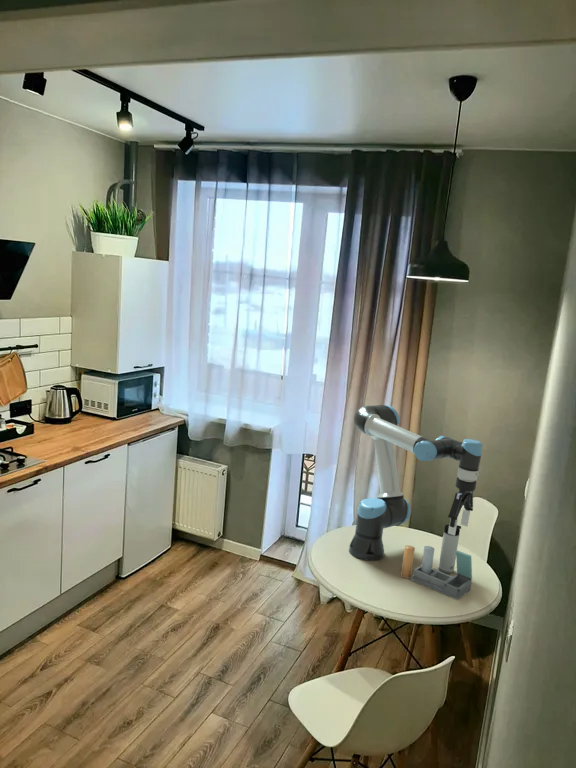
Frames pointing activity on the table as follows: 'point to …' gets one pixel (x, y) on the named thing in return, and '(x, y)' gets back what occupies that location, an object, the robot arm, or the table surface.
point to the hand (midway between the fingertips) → (457, 529)
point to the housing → (443, 582)
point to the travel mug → (448, 550)
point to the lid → (464, 564)
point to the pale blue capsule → (427, 560)
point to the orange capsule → (407, 561)
